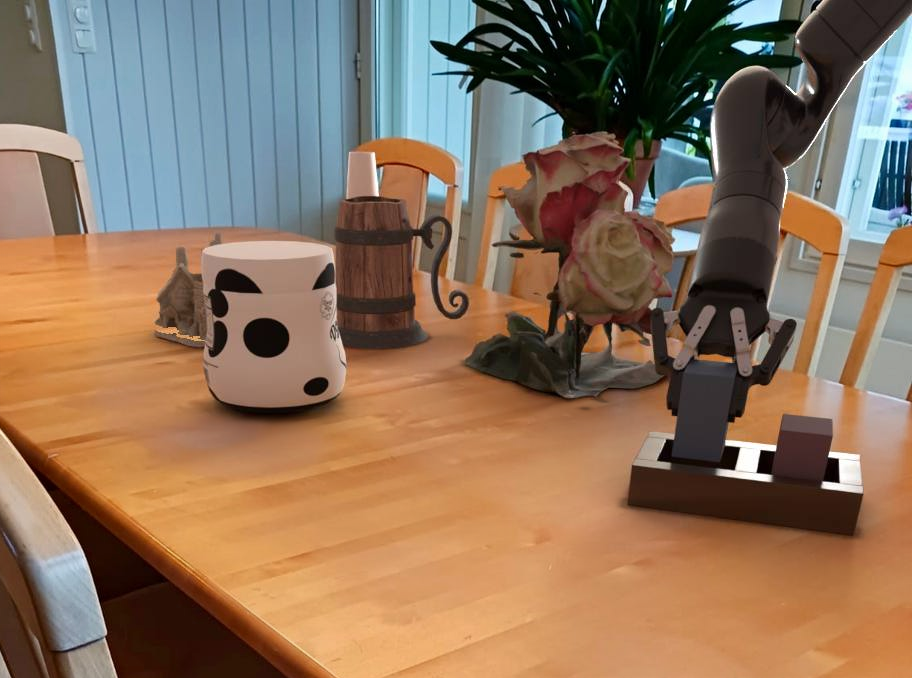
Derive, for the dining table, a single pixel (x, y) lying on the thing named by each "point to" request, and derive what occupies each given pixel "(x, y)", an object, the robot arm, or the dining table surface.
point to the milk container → (272, 326)
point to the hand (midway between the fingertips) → (703, 414)
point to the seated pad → (803, 447)
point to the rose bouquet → (582, 272)
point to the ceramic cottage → (184, 302)
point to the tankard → (383, 273)
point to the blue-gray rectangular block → (704, 410)
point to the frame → (746, 486)
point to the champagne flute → (362, 175)
